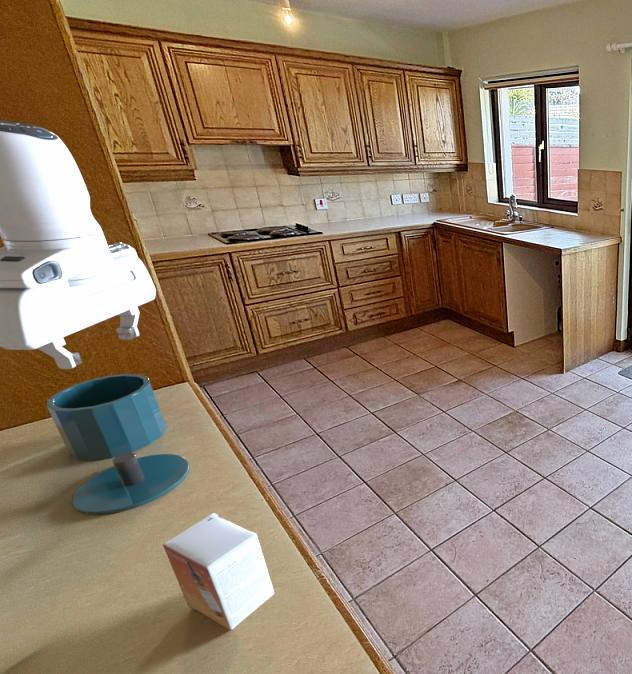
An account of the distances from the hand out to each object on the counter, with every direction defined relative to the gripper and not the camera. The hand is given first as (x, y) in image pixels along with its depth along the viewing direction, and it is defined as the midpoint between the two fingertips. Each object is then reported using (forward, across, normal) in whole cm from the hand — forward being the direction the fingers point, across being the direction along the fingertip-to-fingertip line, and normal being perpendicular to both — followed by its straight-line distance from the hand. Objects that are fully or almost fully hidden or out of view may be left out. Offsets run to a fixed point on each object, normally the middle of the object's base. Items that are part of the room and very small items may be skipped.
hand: (102, 351), depth 67 cm
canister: (+24, -12, -14) cm, 30 cm away
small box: (+24, +22, +25) cm, 41 cm away
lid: (+23, +1, -3) cm, 23 cm away
